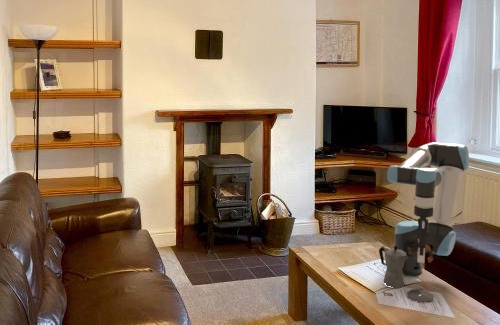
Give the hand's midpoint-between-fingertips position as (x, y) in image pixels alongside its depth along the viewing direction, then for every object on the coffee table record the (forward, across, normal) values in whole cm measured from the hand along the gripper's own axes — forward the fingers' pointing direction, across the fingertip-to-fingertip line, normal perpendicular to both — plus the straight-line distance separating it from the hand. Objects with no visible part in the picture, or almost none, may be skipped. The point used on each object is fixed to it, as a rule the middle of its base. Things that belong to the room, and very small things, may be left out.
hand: (420, 257), depth 227 cm
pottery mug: (+1, 0, +1) cm, 1 cm away
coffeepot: (+18, -11, -11) cm, 24 cm away
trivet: (+17, 0, +1) cm, 17 cm away
